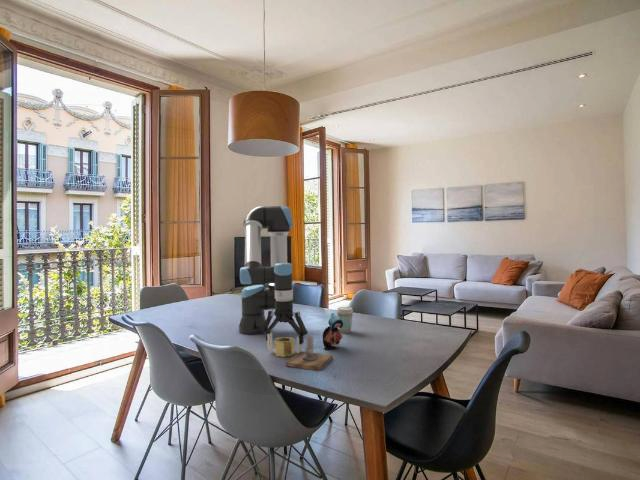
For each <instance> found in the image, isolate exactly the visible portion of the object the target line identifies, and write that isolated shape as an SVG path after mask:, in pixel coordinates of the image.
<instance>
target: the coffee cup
mask: <svg viewBox="0 0 640 480" xmlns="http://www.w3.org/2000/svg"><path fill="white" fill-rule="evenodd" d="M353 313H354V310H353V308H352V307H350V306H341V307H337V309H336V314H337V315H336V316H337V317H338V318H340V319H342V320H343V327H342V328H338V329H339V330H340V332H341V334H349V333H351V332H352V325H353V323H352V322H353V315H354V314H353Z"/></svg>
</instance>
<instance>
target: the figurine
mask: <svg viewBox="0 0 640 480" xmlns="http://www.w3.org/2000/svg"><path fill="white" fill-rule="evenodd" d="M327 324H328V325H329V326H327V327H326V328H325V329H324V330H323V332H322V338H321V339H322V343H323V347H324V348H323V350H325V351H331V350H336V349H337V348H339V345H340V342H341V341H340V340H342V339H343V333H341V332H340V330H339V328H342V327H343V320H342V319H340V318H338V316H337V315H335V313H331V314H330V318H329V320H328V323H327Z"/></svg>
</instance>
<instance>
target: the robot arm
mask: <svg viewBox="0 0 640 480" xmlns="http://www.w3.org/2000/svg"><path fill="white" fill-rule="evenodd" d="M293 227H294V226H293V218H292V212H291V209H290V207H288V206H284V205H282V206H281V205H277V206H276V205H272V206H271V205H270V206H269V205H268V206H265V205H264V206H262V205H261V206H257V207H254V208H253V209H251V210H250V211H249V212H248V213H247V214H246V216H245V218H244V220H243V224H242V229H243V231H244V266H243V267H240V269H239V281H240V284H241V285H250V286H245V287H243V289H242V290H241V297H240V298H241V319H240V321H239V325H238V332H239V334H243V335H258V334H262V333H265V342H267V350H268V351H270V350H272V349H273V332H272V331H273V329H274V328H275V327H276V325H277V324H278V323H288V324H289V325H290V326H291V327H292V329H293V330H294V331H295V332H296V334H297V336H296V345H297V346H296V349H297V350H296V352H297V353H296V354H298V353H299V352H301V351H302V345H303V344H304V337H305V336H306V335H307V334H308V330H307V328H306V326H305V324H304V321H303V319H302V317H301V312H300V311H295V312H294V310H293V308H294V302H293V301H294V287H293V264H292V263H291V262H288V234H289V233H290V232H291V231H290V230H291V229H293ZM263 229H264V230H267V231H266V232H267V234H269V236H270V266H262V235H261V234H262V233H261V232H262V231H263ZM264 284H265V285H266V284H268V286H267V287H265V285H264ZM265 311H268V312H267V317H266V316H265V315H266V314H265ZM273 316H275V319H274V320H273V322H272V323H271V321H272V319H273ZM293 317H294V318H295V319H294V318H293Z"/></svg>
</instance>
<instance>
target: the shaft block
mask: <svg viewBox="0 0 640 480" xmlns="http://www.w3.org/2000/svg"><path fill="white" fill-rule="evenodd" d="M332 359H333V354H330V353H329V354H328V353H319V352H314V337H312V336H311V337H310V336H308V337H305V351H302V350H301V352H299V353H296V354H294V355H293V356H291V358H290V359H288V360H287V361H286V362H285V367H287V366H291V367H290V368H295V367H297V369H302V368H303V369H304V370H310V369H312V371H318V370H319V371H318V372H320V371H322V369H324V368H325V367H326V366H327V364H328V363H330V361H332Z"/></svg>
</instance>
